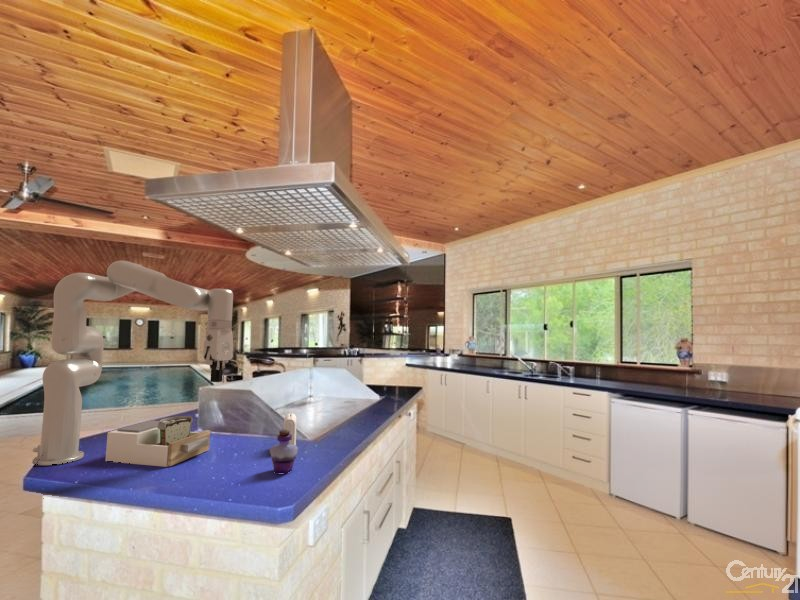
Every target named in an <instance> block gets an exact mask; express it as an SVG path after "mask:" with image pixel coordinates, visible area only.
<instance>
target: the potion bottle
mask: <svg viewBox="0 0 800 600" xmlns="http://www.w3.org/2000/svg"><path fill="white" fill-rule="evenodd" d="M278 433H279V434H277V435H276V440H277V442H278V444H277V445H276V444H275V445H273V446H271V447H269V453H270V458H271V461H272V466H273V473H274V472H275V473H288V472H290V471H292V472H293V467H294V463H295V460H296V458H297V455H298V450H299V447H298V446H297V444H296V445H291V444H289V440H292V435H291V434H290V431H289V430H284V429H281V430H279V431H278Z"/></svg>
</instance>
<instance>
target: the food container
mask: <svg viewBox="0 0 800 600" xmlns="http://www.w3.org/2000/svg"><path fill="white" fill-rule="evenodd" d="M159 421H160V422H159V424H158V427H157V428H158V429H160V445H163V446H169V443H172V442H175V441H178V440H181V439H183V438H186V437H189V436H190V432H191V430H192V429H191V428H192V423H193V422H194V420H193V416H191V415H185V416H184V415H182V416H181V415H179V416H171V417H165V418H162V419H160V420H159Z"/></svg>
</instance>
